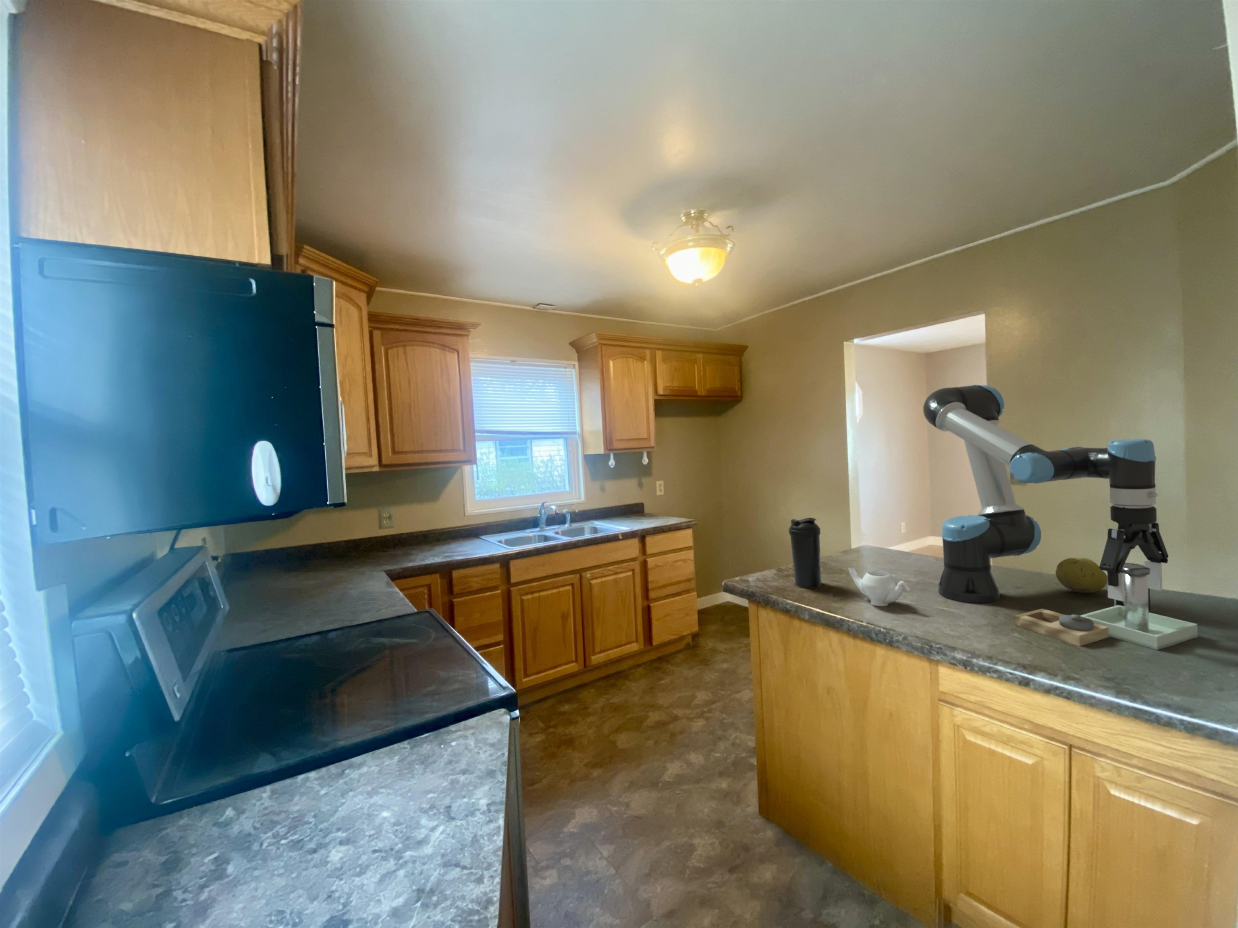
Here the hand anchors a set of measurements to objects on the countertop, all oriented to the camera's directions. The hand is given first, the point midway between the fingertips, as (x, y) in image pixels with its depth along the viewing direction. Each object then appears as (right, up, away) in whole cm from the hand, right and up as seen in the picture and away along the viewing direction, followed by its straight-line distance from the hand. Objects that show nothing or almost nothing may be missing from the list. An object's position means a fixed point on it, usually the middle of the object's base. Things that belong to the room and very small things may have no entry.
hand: (1135, 594), depth 117 cm
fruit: (+13, -7, +27) cm, 31 cm away
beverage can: (+12, -8, +12) cm, 19 cm away
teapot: (-44, -12, +32) cm, 55 cm away
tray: (+1, -9, +1) cm, 9 cm away
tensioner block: (-14, -10, +4) cm, 18 cm away
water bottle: (-56, -11, +55) cm, 80 cm away
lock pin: (+1, -9, +1) cm, 9 cm away
